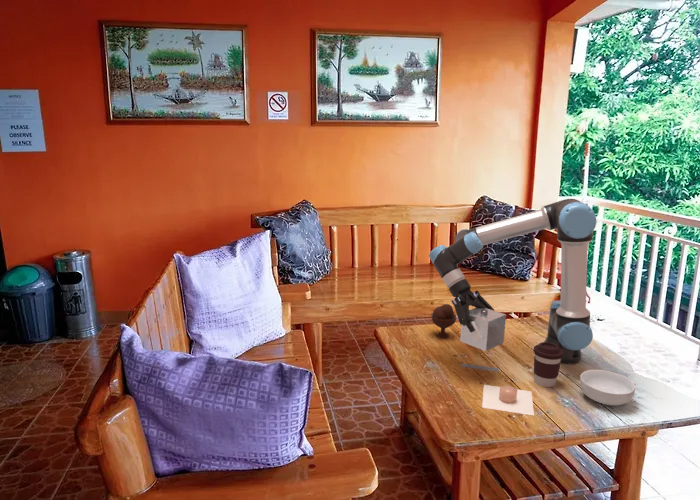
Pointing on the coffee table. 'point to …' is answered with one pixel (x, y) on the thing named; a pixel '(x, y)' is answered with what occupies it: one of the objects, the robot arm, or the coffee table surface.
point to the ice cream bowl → (443, 319)
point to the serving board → (520, 406)
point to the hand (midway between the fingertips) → (489, 335)
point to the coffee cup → (547, 363)
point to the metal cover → (485, 328)
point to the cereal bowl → (607, 387)
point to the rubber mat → (480, 367)
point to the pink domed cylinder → (508, 394)
